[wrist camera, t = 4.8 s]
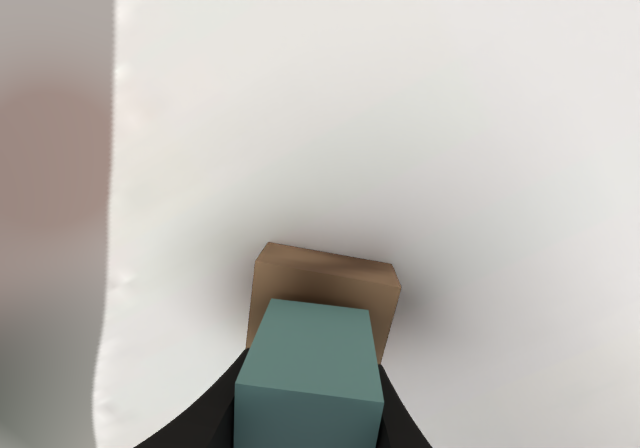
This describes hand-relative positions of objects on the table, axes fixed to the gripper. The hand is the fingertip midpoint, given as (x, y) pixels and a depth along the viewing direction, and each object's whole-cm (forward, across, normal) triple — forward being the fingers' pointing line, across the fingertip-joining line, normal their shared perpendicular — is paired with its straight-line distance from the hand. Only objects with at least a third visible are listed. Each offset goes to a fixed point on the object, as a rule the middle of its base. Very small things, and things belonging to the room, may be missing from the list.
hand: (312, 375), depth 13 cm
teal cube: (+2, 0, 0) cm, 2 cm away
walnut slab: (+6, 0, 0) cm, 6 cm away
